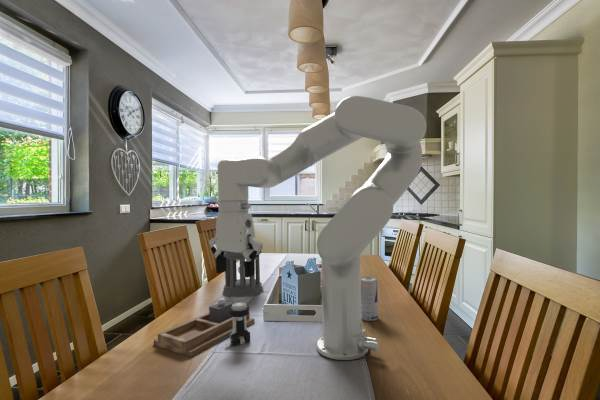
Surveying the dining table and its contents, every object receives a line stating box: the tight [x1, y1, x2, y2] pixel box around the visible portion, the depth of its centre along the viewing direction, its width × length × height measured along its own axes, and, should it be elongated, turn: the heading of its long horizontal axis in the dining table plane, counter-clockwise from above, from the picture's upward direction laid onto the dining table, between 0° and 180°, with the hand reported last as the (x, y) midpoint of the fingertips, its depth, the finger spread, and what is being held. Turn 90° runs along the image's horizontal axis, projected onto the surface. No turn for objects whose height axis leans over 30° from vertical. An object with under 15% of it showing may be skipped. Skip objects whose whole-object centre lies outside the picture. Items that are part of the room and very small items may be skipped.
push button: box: [224, 301, 251, 347], centre depth 86 cm, size 7×5×10 cm
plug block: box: [208, 298, 235, 323], centre depth 98 cm, size 4×6×7 cm, turn 149°
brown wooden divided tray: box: [153, 311, 255, 358], centre depth 94 cm, size 14×24×3 cm, turn 149°
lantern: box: [222, 247, 264, 298], centre depth 133 cm, size 17×17×35 cm
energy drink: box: [361, 276, 379, 322], centre depth 101 cm, size 5×5×12 cm
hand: (235, 274), depth 86 cm, fingers open, 9 cm apart
